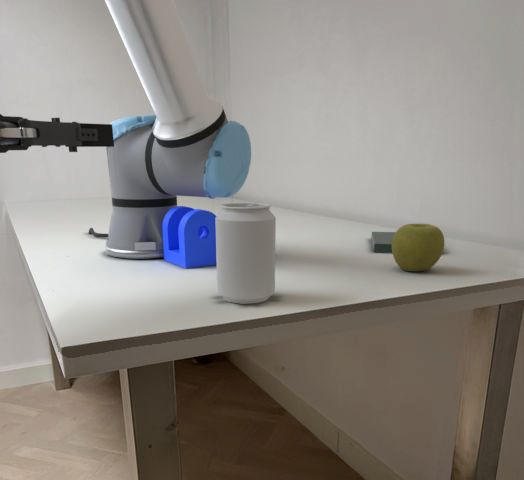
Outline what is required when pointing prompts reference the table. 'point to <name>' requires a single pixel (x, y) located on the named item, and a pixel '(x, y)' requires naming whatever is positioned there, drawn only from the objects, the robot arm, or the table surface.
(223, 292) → the can
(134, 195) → the robot arm
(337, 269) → the table surface
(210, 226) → the bracket
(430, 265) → the apple
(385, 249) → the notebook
